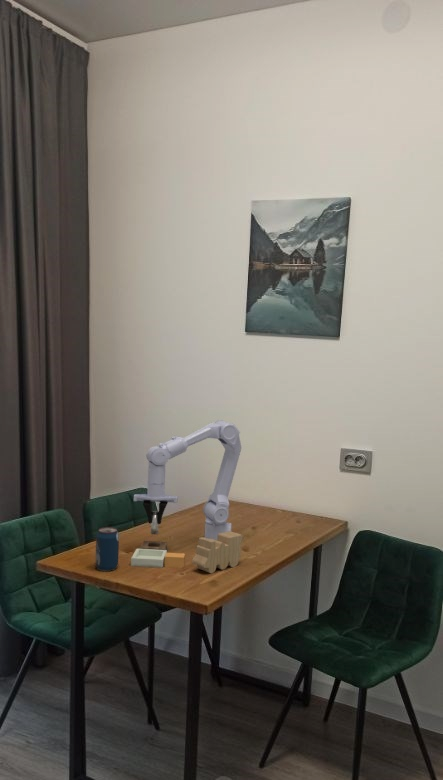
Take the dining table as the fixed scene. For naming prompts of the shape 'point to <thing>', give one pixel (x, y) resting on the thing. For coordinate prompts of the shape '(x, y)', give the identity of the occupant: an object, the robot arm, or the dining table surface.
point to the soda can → (107, 549)
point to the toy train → (218, 552)
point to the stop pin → (154, 522)
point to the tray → (148, 558)
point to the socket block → (154, 545)
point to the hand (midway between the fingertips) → (154, 523)
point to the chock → (175, 560)
